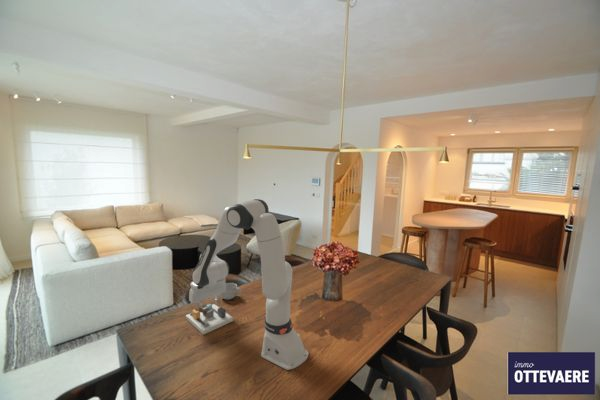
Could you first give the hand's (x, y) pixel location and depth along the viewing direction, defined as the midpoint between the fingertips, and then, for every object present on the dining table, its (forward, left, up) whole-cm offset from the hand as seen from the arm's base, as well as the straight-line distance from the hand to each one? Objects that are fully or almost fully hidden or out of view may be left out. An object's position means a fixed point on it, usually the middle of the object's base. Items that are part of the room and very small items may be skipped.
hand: (208, 304), depth 145 cm
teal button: (+6, -4, -6) cm, 9 cm away
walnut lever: (0, +1, -5) cm, 5 cm away
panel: (-1, +1, -8) cm, 8 cm away
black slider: (-6, -4, -6) cm, 9 cm away
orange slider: (+2, +6, -6) cm, 9 cm away
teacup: (+12, -21, -8) cm, 26 cm away
